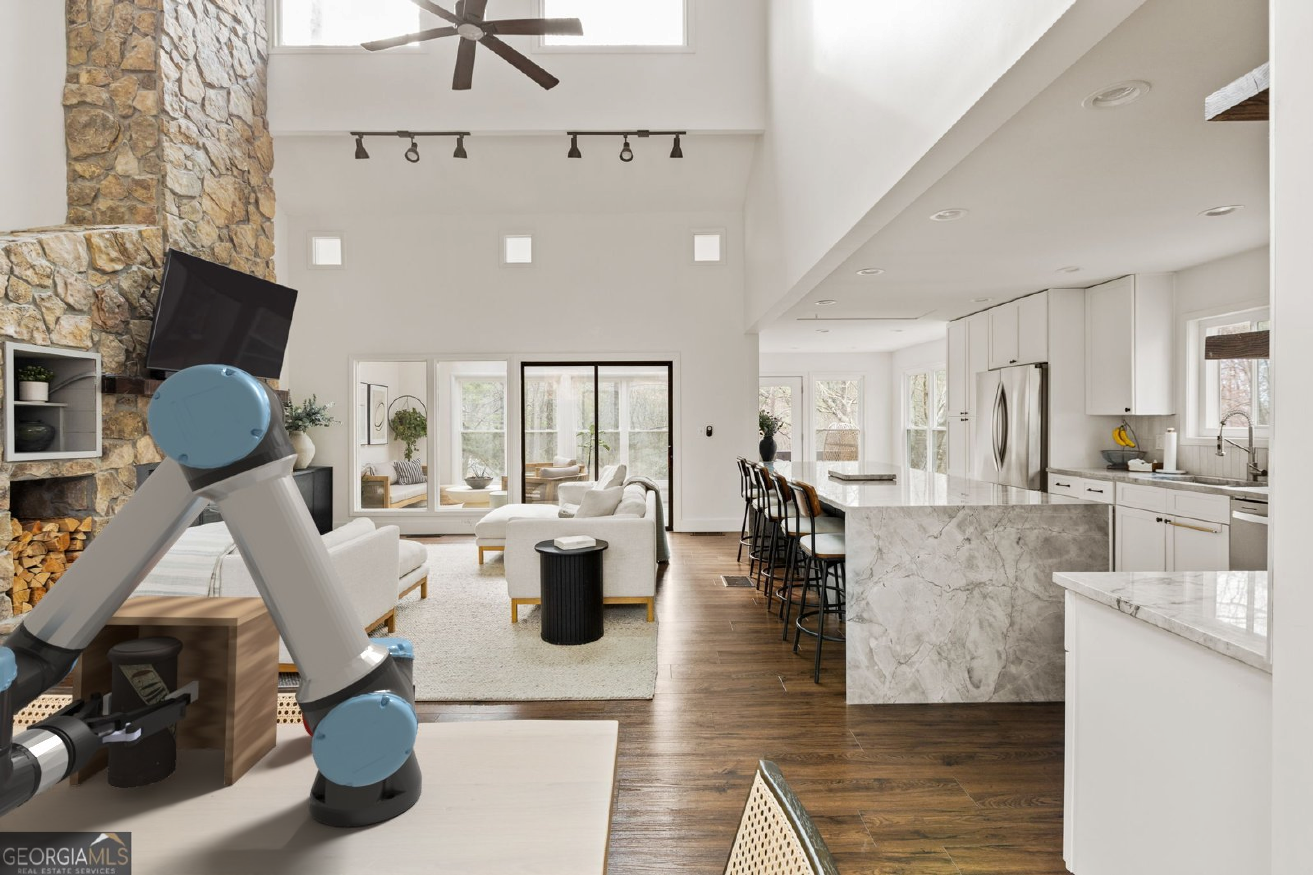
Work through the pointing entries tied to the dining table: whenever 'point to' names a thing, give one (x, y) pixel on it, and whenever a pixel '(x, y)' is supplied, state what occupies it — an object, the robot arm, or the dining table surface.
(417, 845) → the dining table surface
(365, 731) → the robot arm
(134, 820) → the dining table surface
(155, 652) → the container
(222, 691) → the cubby
